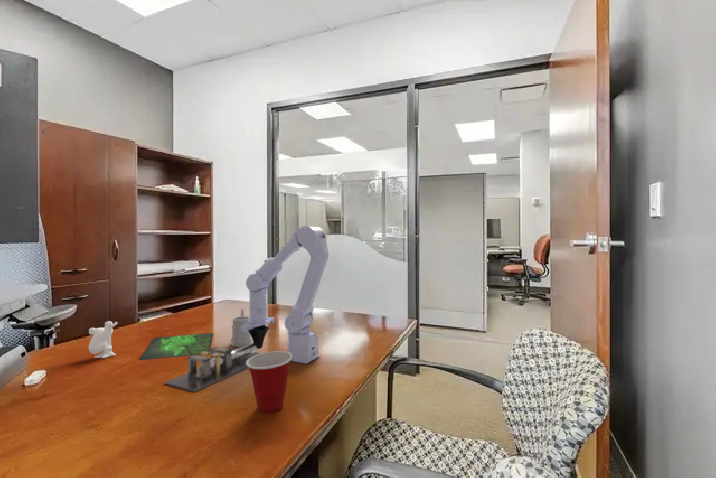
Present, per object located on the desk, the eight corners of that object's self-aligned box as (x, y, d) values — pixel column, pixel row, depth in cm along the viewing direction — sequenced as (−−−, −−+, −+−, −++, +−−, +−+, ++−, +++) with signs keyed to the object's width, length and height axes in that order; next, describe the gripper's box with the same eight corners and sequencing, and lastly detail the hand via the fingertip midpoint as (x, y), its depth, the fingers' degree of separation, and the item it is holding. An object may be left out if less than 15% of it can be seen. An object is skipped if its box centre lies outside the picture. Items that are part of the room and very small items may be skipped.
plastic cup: (244, 401, 91) (244, 352, 91) (288, 394, 95) (288, 348, 95) (247, 422, 81) (246, 367, 81) (296, 413, 85) (296, 361, 85)
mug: (230, 348, 134) (230, 315, 134) (232, 339, 145) (232, 308, 145) (252, 346, 136) (251, 313, 136) (252, 337, 147) (252, 307, 147)
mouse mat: (209, 354, 128) (209, 351, 128) (137, 362, 120) (137, 359, 120) (213, 334, 153) (213, 332, 153) (153, 339, 146) (153, 337, 146)
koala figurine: (122, 353, 128) (121, 318, 128) (111, 359, 121) (111, 323, 121) (96, 354, 127) (95, 319, 127) (84, 361, 120) (83, 324, 120)
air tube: (249, 351, 125) (249, 340, 125) (256, 353, 124) (256, 341, 124) (199, 372, 107) (199, 358, 107) (207, 374, 105) (207, 360, 105)
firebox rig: (272, 356, 124) (272, 338, 124) (194, 392, 96) (194, 368, 96) (245, 351, 129) (244, 333, 129) (164, 384, 102) (164, 361, 102)
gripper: (263, 304, 135) (263, 341, 135) (233, 311, 122) (234, 352, 122) (278, 305, 132) (279, 343, 132) (250, 313, 119) (250, 355, 119)
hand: (258, 348), depth 127 cm, fingers closed
